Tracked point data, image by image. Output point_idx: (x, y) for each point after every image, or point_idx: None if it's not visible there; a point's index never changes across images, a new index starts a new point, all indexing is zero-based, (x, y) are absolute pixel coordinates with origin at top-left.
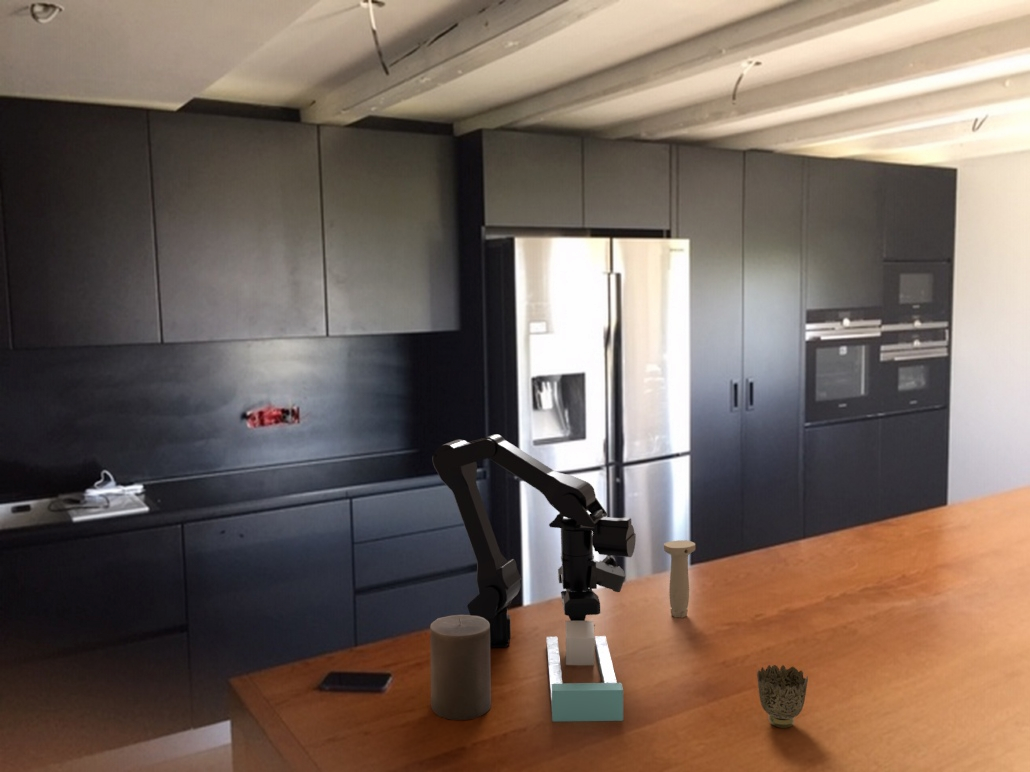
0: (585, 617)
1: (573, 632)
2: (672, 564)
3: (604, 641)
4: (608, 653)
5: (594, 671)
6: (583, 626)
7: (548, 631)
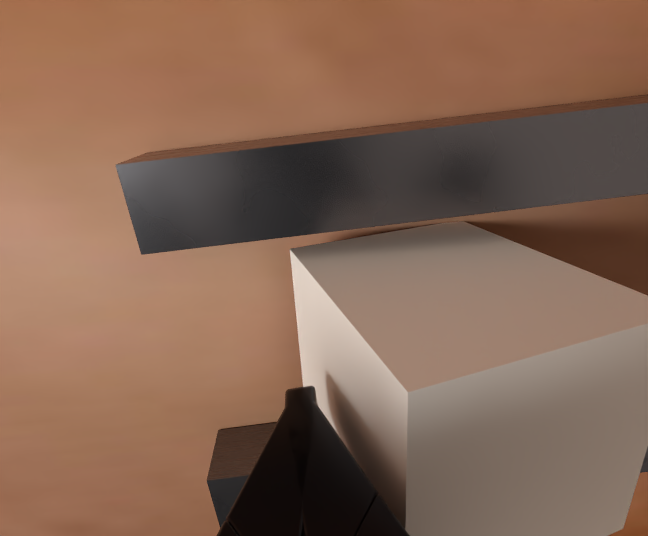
0: (384, 503)
1: (572, 505)
2: None
3: (241, 170)
4: (490, 131)
5: (552, 215)
6: (504, 458)
7: (6, 489)
